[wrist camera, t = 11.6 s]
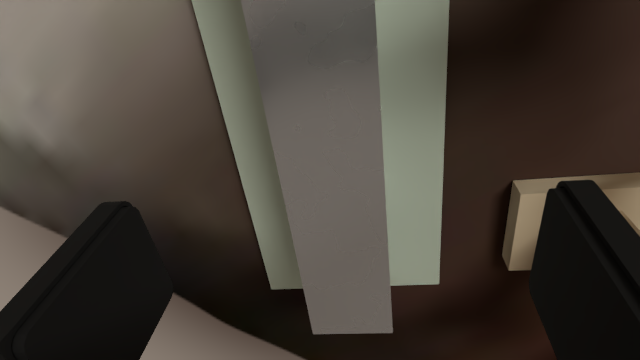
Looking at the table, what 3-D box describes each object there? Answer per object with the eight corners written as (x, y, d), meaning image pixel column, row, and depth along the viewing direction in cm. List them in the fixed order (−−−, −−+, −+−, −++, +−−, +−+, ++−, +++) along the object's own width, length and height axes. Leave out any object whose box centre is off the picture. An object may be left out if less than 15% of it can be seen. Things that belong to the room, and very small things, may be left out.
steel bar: (356, -269, 12) (356, -342, 9) (387, 273, 24) (392, 332, 20) (224, -241, 12) (175, -298, 9) (319, 275, 24) (313, 334, 21)
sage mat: (457, -334, 11) (462, -345, 11) (437, 276, 24) (439, 284, 24) (127, -258, 13) (118, -265, 12) (273, 282, 26) (271, 289, 25)
